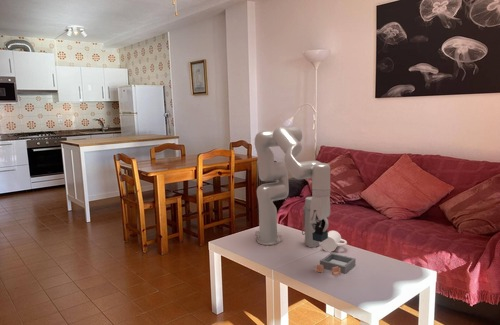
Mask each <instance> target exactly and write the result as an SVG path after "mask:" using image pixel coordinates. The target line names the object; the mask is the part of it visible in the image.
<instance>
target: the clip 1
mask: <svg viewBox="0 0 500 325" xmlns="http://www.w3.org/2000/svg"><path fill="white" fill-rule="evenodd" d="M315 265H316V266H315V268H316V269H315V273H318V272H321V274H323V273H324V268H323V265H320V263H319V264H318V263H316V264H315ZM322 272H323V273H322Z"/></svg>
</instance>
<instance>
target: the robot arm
mask: <svg viewBox="0 0 500 325" xmlns="http://www.w3.org/2000/svg"><path fill="white" fill-rule="evenodd" d="M302 139H303V131H302V130H301V129H300V127H298V126H296V125H292V126H291V125H289V126H279V127H277V128H275V129H269V130H262V131H259V132H257V133H256V134H255V137H254V148H255V151H256V155H257V168H258V169H257V171H258V179H259V180H260V181H262V182H268V183H263V184H260V185H259V186H257V188H256V197H257V203H258V221H259V222H258V225H259V226H258V227H259V228H258V229H259V230H255V231H254V233H253V234H254V236H256V237H257V238H256V242H257V243H258V244H259V245H264V246H274V245H277V244H279V243H280V242H281V238H280V237H279V236H278V210H277V207H276V205H275V204H274V202H275V201H279V200H280V201H281V200H284V199H287V198H288V196H289V194H290V193H289V192H290V191H289V190H290V189H289V188H290V187H289V186H290V185H289V184H290V183H289V174H290V175H291V176H292V177H293V178H294V179H295V180H305V179H306V180H307V179H311V197H312V199H311V209H310V218H311V219H313V220H312V223H314V224H315V234H320V235H322V230H323V229H324V227H325V220H324V218H325V217H327V219H328V218H329V217H330V215H331V198H330V197H331V165H330V164H329V163H325V162H321V161H318V160H307V161H306V160H305V161H297V159H296V157H297V156H298V155H300V153H301V151H302V150H303V145H302V144H301V143H300V142H301V141H302ZM272 147H273V148H275V147H279V148H280V149H281V150H282V152H283V153H284V162H282V161H275V159H274V158H275V156H274V152H273V151H272V149H271V148H272ZM269 181H270V182H269ZM271 181H276V182H271ZM317 218H318V219H317ZM328 220H329V219H328ZM317 221H319V222H317ZM327 231H328V229H327V230H326V231H325V232H327Z"/></svg>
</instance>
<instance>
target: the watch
mask: <svg viewBox="0 0 500 325" xmlns="http://www.w3.org/2000/svg"><path fill="white" fill-rule="evenodd" d="M317 219H318V218H317ZM312 220H313V219H311V221H310V223H311V227H312V229H313V230H314V231H315V224H314V223H312ZM324 220H325V227H324V229H323V230H322V235H320V234H315V232H314V233H312V235H313V240H315V241H319V243H321V242H322V241H324V240H325V239H327V238H328V232H329V230H328V229H329V224H330V223H329V219H327V217H325V218H324ZM326 230H327V232H325V231H326Z"/></svg>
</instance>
